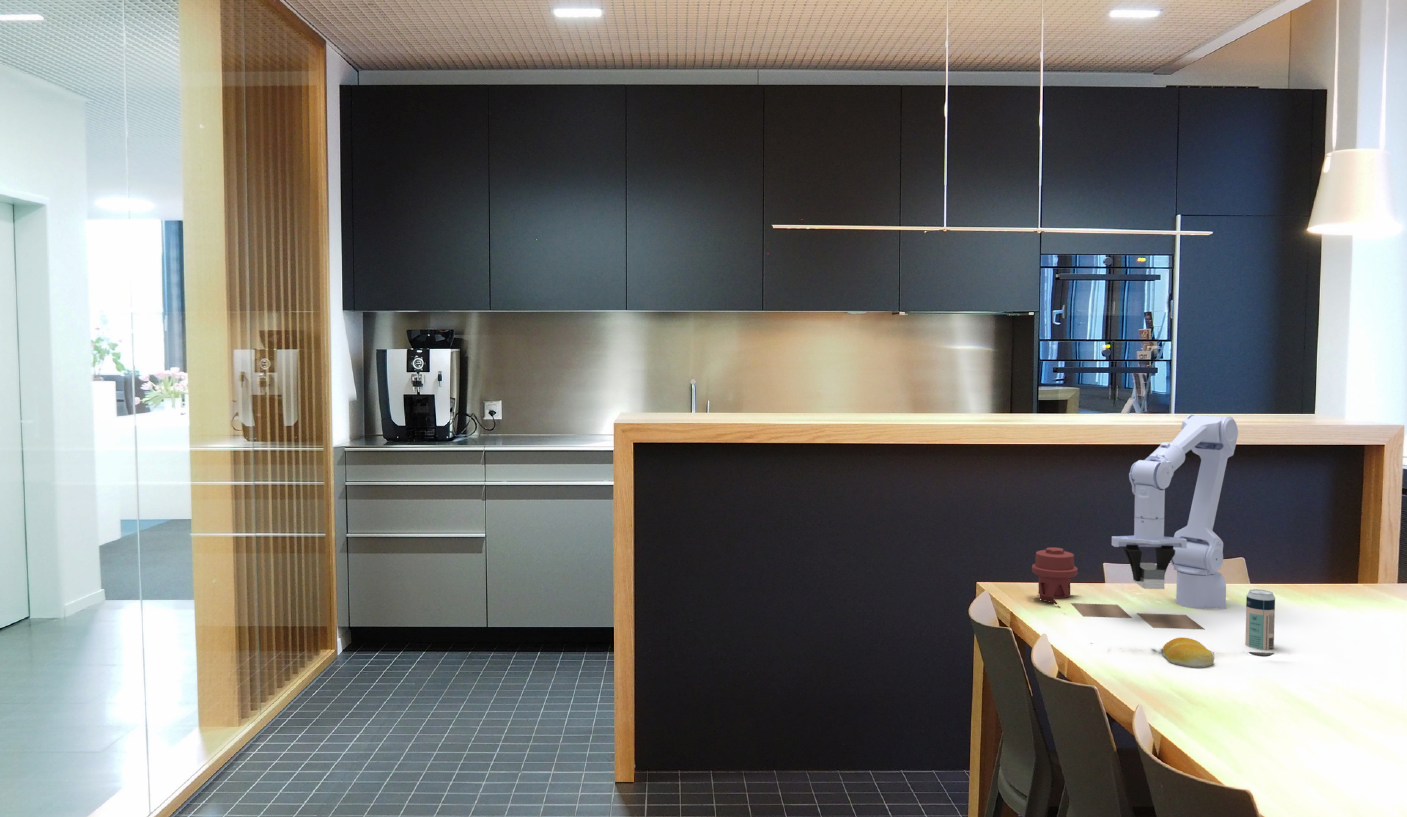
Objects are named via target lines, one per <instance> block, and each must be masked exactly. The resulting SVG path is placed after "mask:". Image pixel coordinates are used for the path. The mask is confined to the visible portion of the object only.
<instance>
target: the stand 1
mask: <svg viewBox="0 0 1407 817" xmlns="http://www.w3.org/2000/svg"><path fill="white" fill-rule="evenodd" d="M1070 604H1071V605H1072V606H1073V607H1074V609H1076V611H1077V612H1078V613H1079V615H1081V616H1082V617H1087V618H1091V617H1092V618H1115V619H1116V618H1118V619H1119V618H1120V619H1133V617H1132V616H1131V615H1130V614H1129V613H1128V612H1127V611H1125V610H1124V609H1123V608H1122V607H1121V606H1120V605H1118V604H1110V603H1109V604H1106V603H1076V602H1071V603H1070Z"/></svg>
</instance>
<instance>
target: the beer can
mask: <svg viewBox="0 0 1407 817" xmlns="http://www.w3.org/2000/svg"><path fill="white" fill-rule="evenodd" d="M1245 603H1246V604H1245V606H1246V608H1245V609H1246V610H1245V640H1244V641H1245V644H1244V645H1245V646H1246V647H1248V648H1251V649H1255V650H1260V651H1248V654H1250V655H1253V656H1255V657H1265V658H1266V657H1270V656H1272V655H1274V654H1275V652H1265V651H1269V650H1274V649H1275V618H1276V617H1275V615H1276V613H1275V612H1276V597H1275V595H1274V593H1273V592H1272V591H1270V590H1265V589H1257V588H1256V589H1249V591H1248V592H1247V593H1246V602H1245ZM1261 650H1264V652H1263V651H1262V652H1261Z"/></svg>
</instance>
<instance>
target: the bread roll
mask: <svg viewBox="0 0 1407 817" xmlns="http://www.w3.org/2000/svg"><path fill="white" fill-rule="evenodd" d="M1162 647H1163V648H1162V653H1163V656H1164V657H1165V658H1166V659H1167V661H1168V662H1170V663H1171V664H1174V665H1178V666H1182V667H1183V666H1184V667H1190V668H1206V667H1210V666H1211V665H1213V664H1214V660H1215V655H1214V654H1213V652H1212V651H1211V650H1210V649H1208V648H1207V647H1206V646H1205V645H1204V644H1202V643H1201V642H1200V641H1197V640H1195V639H1192V638H1189V637H1176V638H1173V639H1170V640H1169V641H1167V642H1166V643H1165V644H1164V645H1163V646H1162Z"/></svg>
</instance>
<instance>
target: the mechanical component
mask: <svg viewBox="0 0 1407 817" xmlns="http://www.w3.org/2000/svg"><path fill="white" fill-rule="evenodd" d="M1074 562H1075V555H1074V553H1072V552H1069V551H1065V549H1064V548H1061V547H1056V546H1055V547H1051V546H1050V547H1046V549H1042V550H1037V551H1036V552H1035V563H1033V564H1032V566H1031V572H1032V573H1033V574H1034V575H1036V576H1038V585H1037V586H1038V587H1037V588H1038V592H1037V593H1038V595H1039V598H1038V599H1039V600H1040V599H1041V600H1040V601H1044V600H1045V602H1048V601H1050V602H1049V603H1053V604H1054V605H1057V604H1058V602H1056V600H1055V599H1059V600H1060V599H1066V598H1069V597H1071V580H1072V578H1075V577H1076V576H1078V574H1079V573H1078V570H1079V568H1078V567H1077V566H1075V563H1074Z"/></svg>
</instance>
